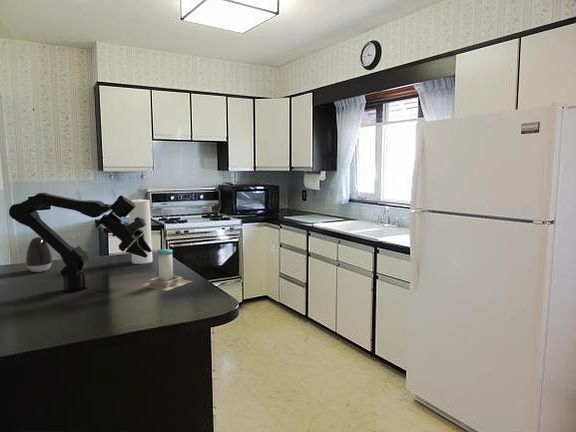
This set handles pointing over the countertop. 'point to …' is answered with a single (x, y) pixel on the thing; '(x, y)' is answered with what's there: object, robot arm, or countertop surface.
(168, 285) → the housing
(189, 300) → the countertop surface
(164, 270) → the white tall cylindrical piece
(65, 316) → the countertop surface
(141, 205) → the cylinder container
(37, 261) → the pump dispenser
